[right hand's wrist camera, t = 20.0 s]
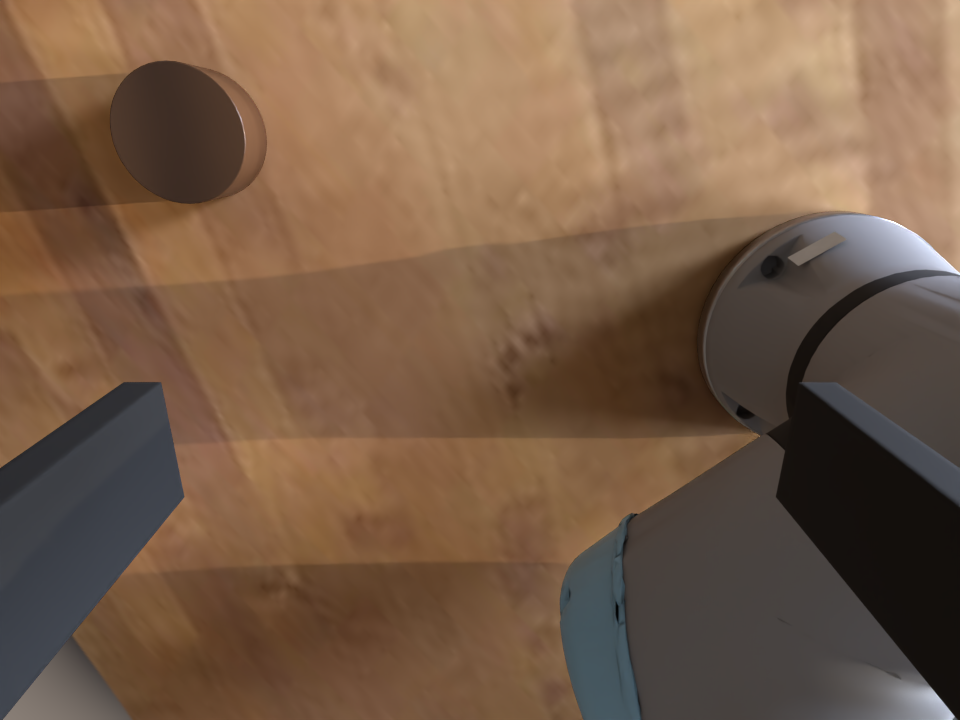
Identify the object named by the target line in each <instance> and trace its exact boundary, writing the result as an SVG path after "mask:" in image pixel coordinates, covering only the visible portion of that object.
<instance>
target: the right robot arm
mask: <svg viewBox="0 0 960 720" xmlns="http://www.w3.org/2000/svg"><path fill="white" fill-rule="evenodd" d="M697 351H698V358H699V364H700V368H701V371H702V374H703V377H704V380H705V382H706V384H707V386H708V388H709V389H710V391H711V392H712V394H713V395H714V397H715V398H716V399H717V400H718V402H719V403H720V404H721V405H722V406H723V407H724V408H725V410H726V411H727V412H728V413H729V414H730V415H731V416H732V417H733V418H735V419H736V420H737V421H738V422H740V423H741V424H742V425H744V426H745V427H747V428H749V429H750V430H752V431H754V432H755V433H757V434H759V435H761V436H760V437H758V438H757V439H755V440H754V441H752V442H751V443H749V444H748V445H746V446H744V447H743V448H741V449H740V450H738V451H737V452H735V453H734V454H732V455H731V456H729V457H728V458H726V459H724V460H723V461H721V462H720V463H718V464H717V465H715V466H714V467H712V468H711V469H709V470H707V471H706V472H704V473H703V474H701V475H700V476H698V477H697V478H695V479H694V480H692V481H690V482H689V483H687V484H686V485H684V486H683V487H681V488H680V489H678V490H677V491H675V492H674V493H672V494H670V495H669V496H667V497H666V498H664V499H662V500H661V501H659V502H658V503H656V504H654V505H653V506H651V507H650V508H648V509H646V510H645V511H643V512H642V513H640V514H634V513H631V514H629V515H628V516H626V517H625V518H623V519H622V521H621V522H620V524H619V527H617V528H616V529H614V530H613V531H612V532H610V533H609V534H607V535H606V536H605V537H603V538H602V539H601V540H599V541H598V542H596V543H595V544H594V545H592V546H591V547H589V548H588V549H587V550H585V551H584V552H582V553H581V554H580V555H579V556H578V557H577V558H576V559H575V560H574V561H573V562H572V564H571V565H570V567H569V568H568V570H567V572H566V575H565V578H564V580H563V584H562V588H561V595H560V613H561V620H560V628H561V636H562V643H563V649H564V655H565V659H566V664H567V668H568V672H569V676H570V679H571V683H572V687H573V690H574V693H575V697H576V700H577V703H578V706H579V709H580V711H581V714H582V717H583V720H960V273H959V272H958V271H957V270H955V269H954V268H953V267H952V266H951V265H950V264H949V263H948V262H947V261H946V260H945V259H944V258H943V257H941V256H940V255H939V254H938V253H937V252H936V251H935V250H934V249H933V248H932V247H931V246H930V245H929V244H928V243H927V242H926V241H925V240H923V239H922V238H921V237H920V236H918V235H917V234H915V233H913V232H912V231H910V230H908V229H906V228H904V227H903V226H901V225H899V224H897V223H894V222H892V221H889V220H887V219H883V218H879V217H876V216H871V215H866V214H861V213H855V212H845V211H831V212H821V213H814V214H810V215H806V216H802V217H799V218H796V219H793V220H790V221H787V222H785V223H783V224H781V225H778V226H776V227H774V228H773V229H771V230H769V231H767V232H765V233H764V234H762V235H761V236H759V237H758V238H756V239H755V240H754V241H752V242H751V243H750V244H749V245H747V246H746V247H745V248H744V249H743V250H742V251H741V252H740V253H738V254H737V255H736V256H735V257H734V259H733V260H732V261H731V262H730V263H729V264H728V265H727V266H726V268H725V269H724V270H723V272H722V273H721V274H720V276H719V277H718V279H717V281H716V282H715V284H714V285H713V287H712V289H711V291H710V293H709V295H708V297H707V300H706V302H705V305H704V307H703V311H702V314H701V318H700V322H699V328H698V337H697ZM183 498H184V493H183V488H182V483H181V478H180V473H179V468H178V463H177V458H176V454H175V449H174V444H173V439H172V434H171V429H170V424H169V419H168V414H167V409H166V404H165V399H164V395H163V390H162V385H161V382H124V383H122V384H121V385H119V386H118V387H116V388H115V389H114V390H112V391H111V392H109V393H108V394H106V395H105V396H103V397H102V398H101V399H99V400H98V401H96V402H95V403H93V404H92V405H90V406H89V407H88V408H86V409H85V410H83V411H82V412H80V413H79V414H78V415H76V416H75V417H73V418H72V419H70V420H69V421H67V422H66V423H65V424H63V425H62V426H60V427H59V428H57V429H56V430H55V431H53V432H52V433H50V434H49V435H47V436H46V437H44V438H43V439H42V440H40V441H39V442H37V443H36V444H34V445H33V446H32V447H30V448H29V449H27V450H26V451H24V452H23V453H21V454H20V455H19V456H17V457H16V458H14V459H13V460H11V461H10V462H9V463H7V464H6V465H4V466H3V467H1V468H0V720H3V718H4V717H5V716H6V715H7V714H8V712H9V711H10V710H11V709H12V708H13V706H14V705H15V704H16V703H17V701H18V700H19V699H20V698H21V696H22V695H23V694H24V693H25V692H26V690H27V689H28V688H29V687H30V685H31V684H32V683H33V682H34V680H35V679H36V678H37V677H38V676H39V674H40V673H41V672H42V671H43V670H44V668H45V667H46V666H47V665H48V663H49V662H50V661H51V660H52V658H53V657H54V656H55V655H56V654H57V652H58V651H59V650H60V649H61V647H62V646H63V645H64V644H65V642H66V641H67V640H68V639H69V638H70V636H71V635H72V634H73V633H74V632H75V630H76V629H77V628H78V627H79V625H80V624H81V623H82V622H83V621H84V619H85V618H86V617H87V616H88V614H89V613H90V612H91V611H92V609H93V608H94V607H95V606H96V605H97V603H98V602H99V601H100V600H101V598H102V597H103V596H104V595H105V594H106V592H107V591H108V590H109V589H110V587H111V586H112V585H113V584H114V583H115V581H116V580H117V579H118V578H119V576H120V575H121V574H122V573H123V572H124V570H125V569H126V568H127V567H128V565H129V564H130V563H131V562H132V560H133V559H134V558H135V557H136V556H137V554H138V553H139V552H140V551H141V549H142V548H143V547H144V546H145V545H146V543H147V542H148V541H149V540H150V538H151V537H152V536H153V535H154V534H155V532H156V531H157V530H158V529H159V527H160V526H161V525H162V524H163V522H164V521H165V520H166V519H167V518H168V516H169V515H170V514H171V513H172V511H173V510H174V509H175V508H176V507H177V505H178V504H179V503H180V502H181V500H182V499H183Z"/></svg>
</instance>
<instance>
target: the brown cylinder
mask: <svg viewBox="0 0 960 720" xmlns="http://www.w3.org/2000/svg"><path fill="white" fill-rule="evenodd" d="M110 128H111V135H112V139H113V143H114V146H115V148H116V151H117V153H118V155H119V157H120V159H121V161H122V163H123V164H124V166H125V167H126V169H127V170H128V171H129V173H130V174H131V175H132V176H133V177H134V178H135V179H136V180H137V181H138V182H139V183H140V184H141V185H142V186H144V187H145V188H146V189H148V190H149V191H151V192H152V193H154V194H156V195H158V196H160V197H162V198H164V199H167V200H170V201H173V202H178V203H187V204H193V203H201V202H206V201H210V200H214V199H218V198H222V197H226V196H230V195H233V194H236V193H238V192H240V191H241V190H243V189H245V188H246V187H247V186H248V185H250V184H251V183H252V181H253V180H254V179H255V178H256V176H257V175H258V174H259V172H260V170H261V168H262V165H263V162H264V160H265V155H266V146H267V140H266V131H265V126H264V123H263V119H262V117H261V114H260V112H259V110H258V108H257V106H256V105H255V103H254V101H253V100H252V99H251V97H250V96H249V94H248V93H247V92H246V91H245V90H244V89H243V88H242V87H241V86H240V85H238V84H237V83H236V82H235V81H233V80H232V79H230V78H229V77H227V76H225V75H223V74H221V73H219V72H216V71H213V70H210V69H206V68H202V67H198V66H193V65H189V64H185V63H181V62H176V61H157V62H152V63H148V64H146V65H143V66H141V67H139V68H137V69H136V70H134V71H133V72H131V73H130V74H129V75H128V76H127V77H126V78H125V79H124V80H123V82H122V83H121V84H120V86H119V87H118V89H117V91H116V93H115V96H114V98H113V101H112V105H111V112H110Z"/></svg>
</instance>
